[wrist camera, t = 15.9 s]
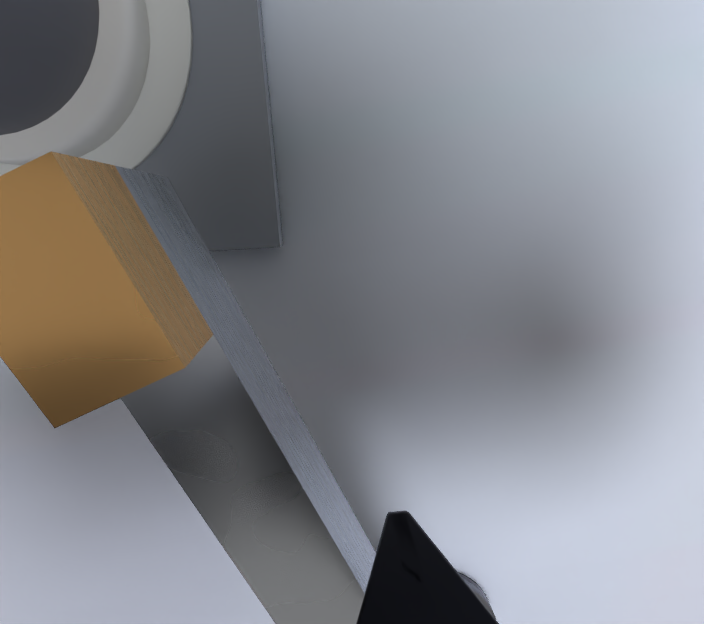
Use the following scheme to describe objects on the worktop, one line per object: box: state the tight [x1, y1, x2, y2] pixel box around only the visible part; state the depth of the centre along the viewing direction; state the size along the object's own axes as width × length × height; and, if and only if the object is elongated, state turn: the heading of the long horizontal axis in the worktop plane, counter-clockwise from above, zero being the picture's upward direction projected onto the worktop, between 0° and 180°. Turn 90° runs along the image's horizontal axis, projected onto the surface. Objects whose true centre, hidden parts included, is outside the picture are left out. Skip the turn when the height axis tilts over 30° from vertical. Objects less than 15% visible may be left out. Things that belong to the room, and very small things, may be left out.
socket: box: [0, 0, 283, 251], centre depth 8 cm, size 10×10×1 cm
